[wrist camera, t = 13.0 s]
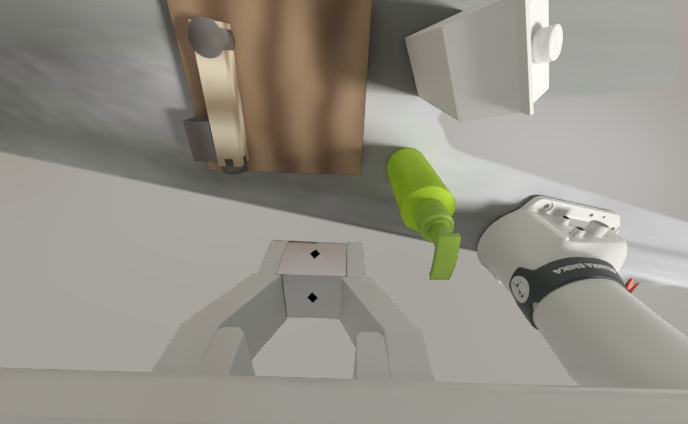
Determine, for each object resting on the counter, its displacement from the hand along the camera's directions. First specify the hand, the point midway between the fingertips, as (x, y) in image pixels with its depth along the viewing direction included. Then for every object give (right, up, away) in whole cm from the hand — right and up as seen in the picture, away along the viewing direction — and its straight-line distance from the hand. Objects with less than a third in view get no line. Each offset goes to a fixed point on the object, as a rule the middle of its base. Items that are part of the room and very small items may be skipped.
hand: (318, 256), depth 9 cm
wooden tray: (-7, +17, +26) cm, 32 cm away
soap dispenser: (+10, +8, +32) cm, 34 cm away
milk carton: (+13, +21, +24) cm, 34 cm away
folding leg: (-14, +15, +24) cm, 32 cm away
